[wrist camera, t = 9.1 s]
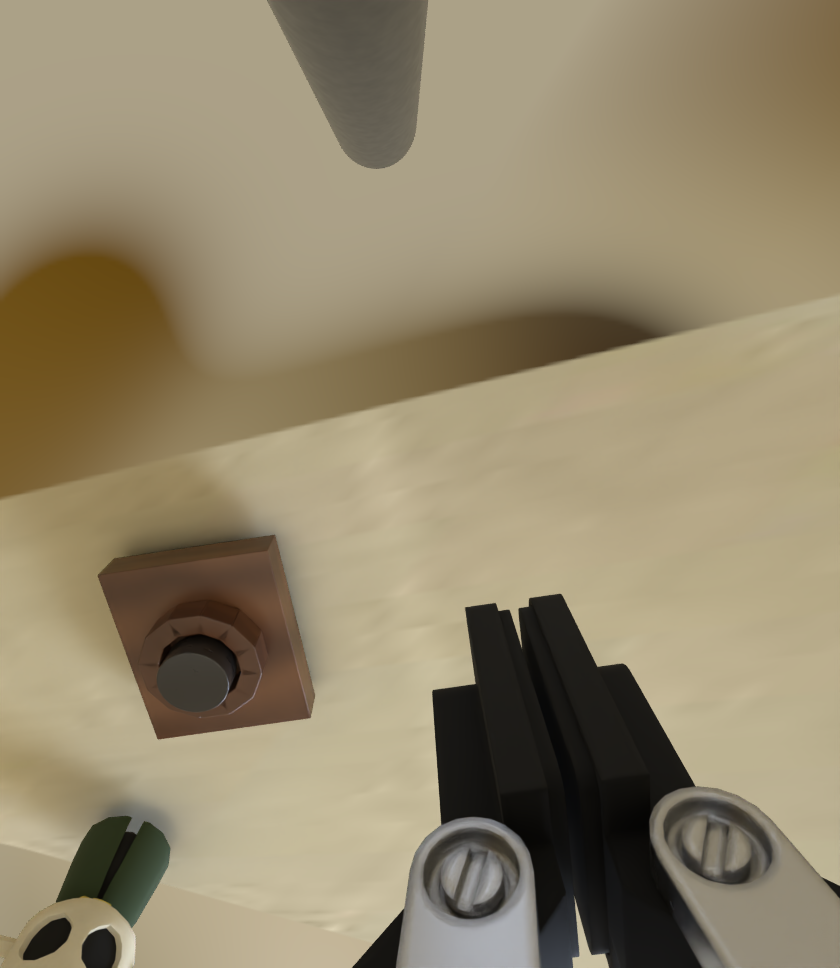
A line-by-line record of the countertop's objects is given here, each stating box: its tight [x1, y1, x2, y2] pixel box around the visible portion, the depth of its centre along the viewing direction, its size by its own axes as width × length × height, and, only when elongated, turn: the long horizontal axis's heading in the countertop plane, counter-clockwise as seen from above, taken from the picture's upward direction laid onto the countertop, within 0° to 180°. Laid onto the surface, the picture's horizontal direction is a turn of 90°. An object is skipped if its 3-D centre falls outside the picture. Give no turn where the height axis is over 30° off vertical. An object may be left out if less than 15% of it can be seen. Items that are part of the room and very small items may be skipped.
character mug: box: [0, 816, 170, 968], centre depth 39 cm, size 11×7×13 cm, turn 67°
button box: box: [98, 535, 315, 739], centre depth 37 cm, size 12×10×4 cm
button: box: [157, 636, 237, 712], centre depth 35 cm, size 4×4×2 cm
